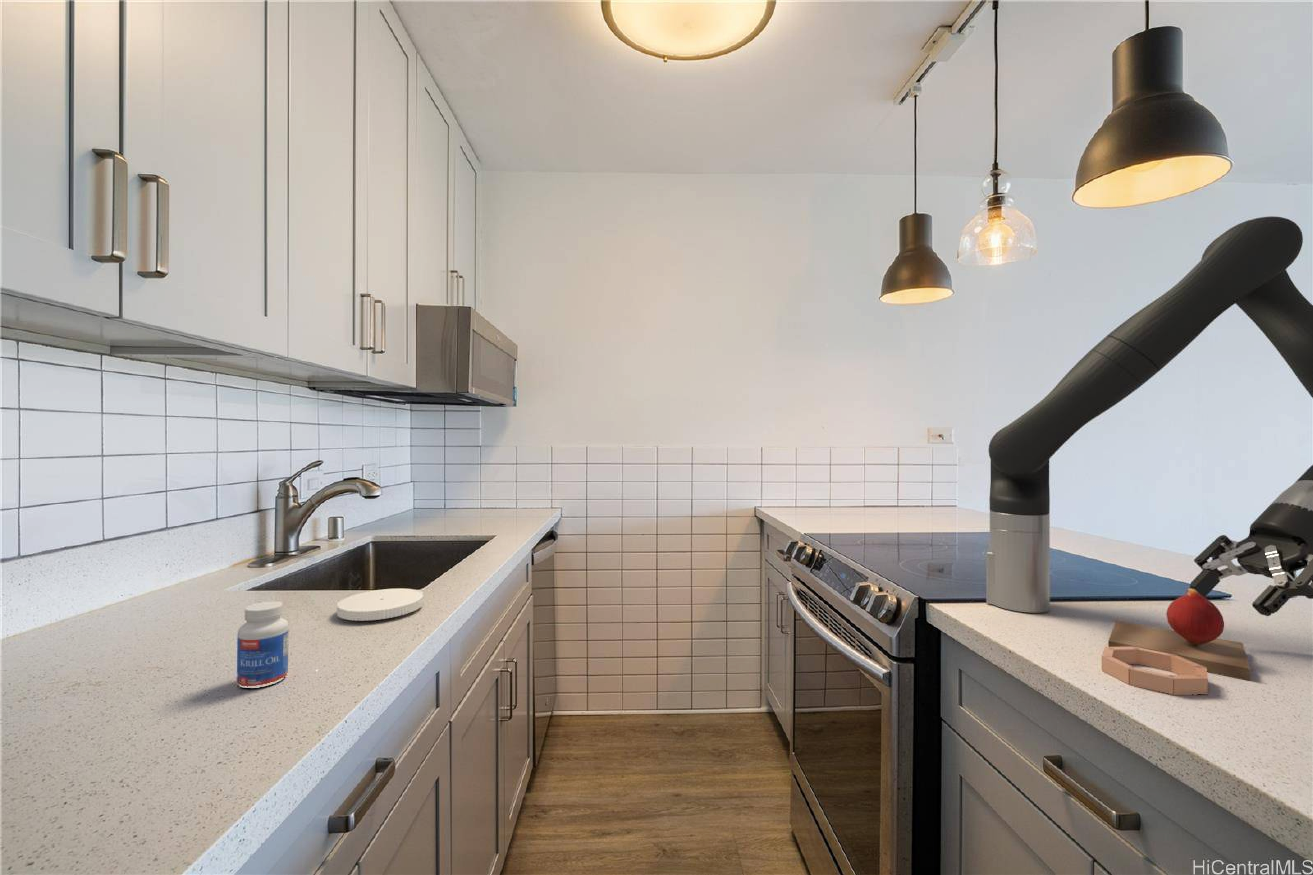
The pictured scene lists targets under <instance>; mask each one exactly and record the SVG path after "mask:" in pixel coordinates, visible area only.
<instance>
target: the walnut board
mask: <svg viewBox="0 0 1313 875" xmlns="http://www.w3.org/2000/svg"><path fill="white" fill-rule="evenodd" d="M1107 643H1108V644H1107V645H1108V646H1107V647H1139V648H1144V649H1149V650H1154V651H1159V652H1164V653H1169V654H1174V655H1177V656H1179V657H1182V658H1184V659H1187V660H1189V661H1192V662H1194V663H1196V664H1199V665H1201V666H1204V667H1206V668H1207V671H1208V672H1207V673H1211V672H1212V673H1211V674H1216V673H1218V674H1217V675H1220V674H1223V675H1222V676H1225V675H1227V676H1226V677H1230V676H1232V678H1235V679H1240V678H1242V679H1241V680H1244V679H1246V680H1245V681H1250V680H1251V668H1250V664H1249V661H1248V658H1247V653H1246V650H1245V646H1244V643H1243V642H1239V641H1232V640H1228V639H1221V638H1216V639H1215V640H1213V641H1210V642H1208V643H1204V644H1201V645H1199V646H1195V645H1191V644H1190V643H1189V642H1187V640H1185V639H1184V638H1183V637H1182V636H1180V635H1179V634H1178V633H1176V632H1175V631H1174V630H1173V629H1172V630H1171V629H1165V628H1159V627H1155V626H1149V625H1142V624H1137V623H1132V622H1126V621H1122V620H1114V624H1113V627H1112V630H1111V633H1110V635H1109V638H1108V642H1107Z"/></svg>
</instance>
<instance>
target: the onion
mask: <svg viewBox="0 0 1313 875" xmlns="http://www.w3.org/2000/svg"><path fill="white" fill-rule="evenodd" d="M1166 618H1167V622H1168V625H1169V626H1170V628H1171V629H1172V631H1175V632H1176V633H1178V634H1179V635H1180V636H1182V637H1183V638H1184V639H1185V640H1187V642H1189V643H1190V644H1191V645H1195V646H1199V645H1201V644H1204V643H1208V642H1210V641H1213V640H1215V639H1216V638H1217V639H1219V638H1220V636H1221V635H1222V634H1223V632H1224V628H1225V621H1224V616H1223V614H1222V613H1221V611H1220V610H1219V608H1218V607H1217V606H1216V605H1215V604H1214V603H1213V602H1212V601H1210V600H1209V599H1208V598H1206V597H1203V596H1202V595H1201V594H1199V593H1198V592H1197V591H1196V590H1194V589H1190V588H1187V589H1186V594H1184V595H1182V596H1180V597H1177V598H1176V599H1174V600H1173V601H1172V602H1171V603H1170V604H1169V605H1168V607H1167V610H1166Z"/></svg>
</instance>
